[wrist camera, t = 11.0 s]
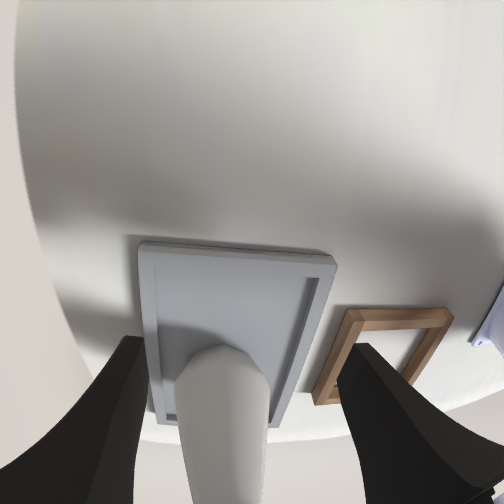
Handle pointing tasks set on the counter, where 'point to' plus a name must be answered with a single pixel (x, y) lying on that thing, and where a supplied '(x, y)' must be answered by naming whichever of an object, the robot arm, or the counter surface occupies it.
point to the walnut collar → (373, 321)
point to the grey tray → (229, 313)
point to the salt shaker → (223, 425)
